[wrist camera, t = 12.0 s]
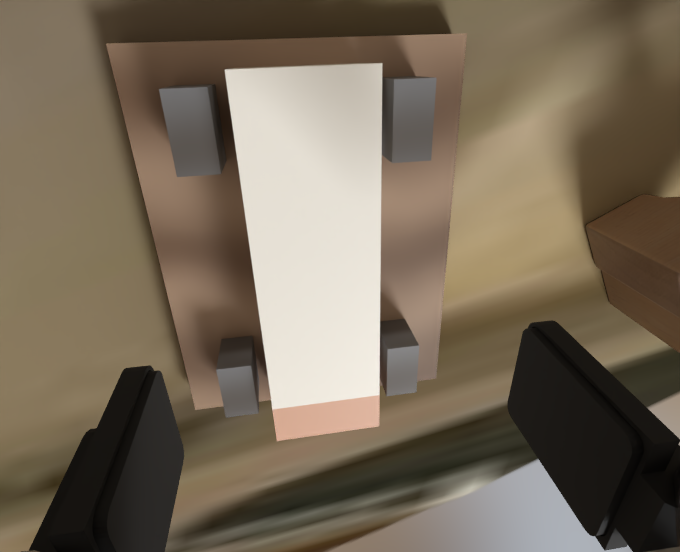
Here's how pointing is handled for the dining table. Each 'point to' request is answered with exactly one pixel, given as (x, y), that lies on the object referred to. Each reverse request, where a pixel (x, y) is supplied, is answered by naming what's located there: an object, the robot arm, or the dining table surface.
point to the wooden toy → (642, 262)
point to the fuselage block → (314, 236)
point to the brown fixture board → (228, 209)
